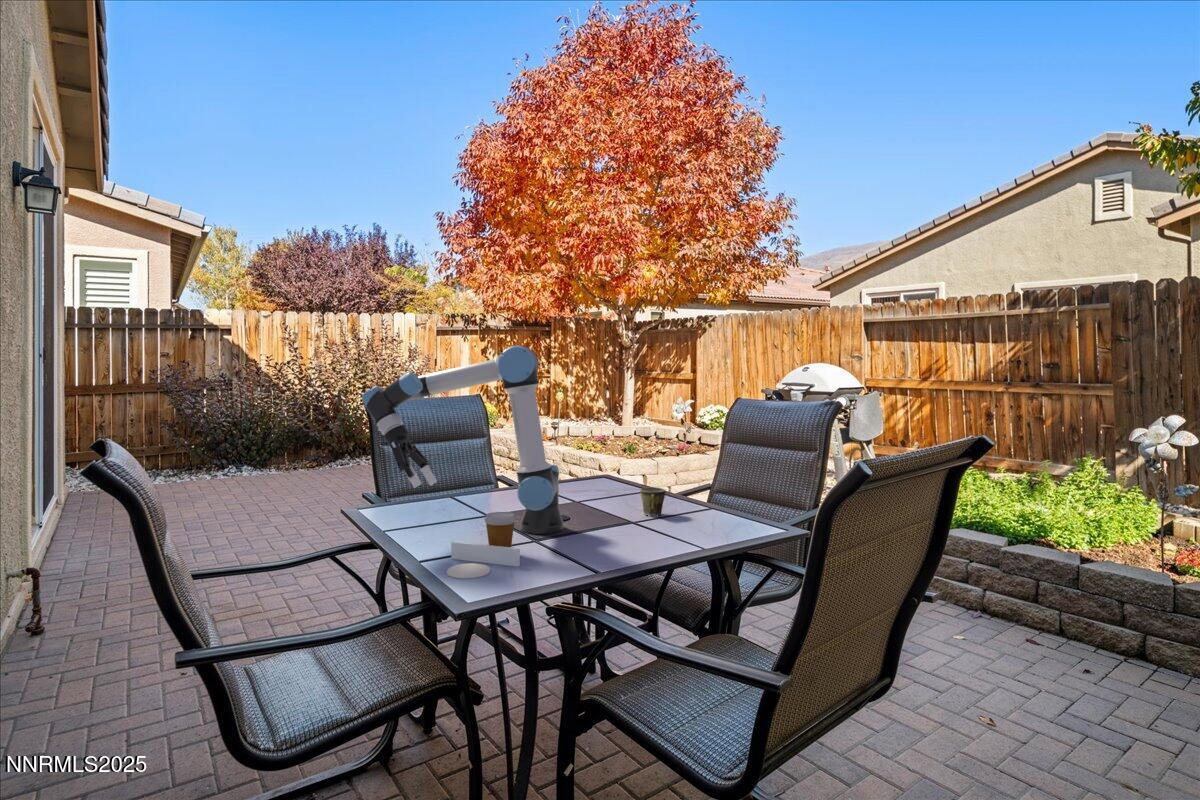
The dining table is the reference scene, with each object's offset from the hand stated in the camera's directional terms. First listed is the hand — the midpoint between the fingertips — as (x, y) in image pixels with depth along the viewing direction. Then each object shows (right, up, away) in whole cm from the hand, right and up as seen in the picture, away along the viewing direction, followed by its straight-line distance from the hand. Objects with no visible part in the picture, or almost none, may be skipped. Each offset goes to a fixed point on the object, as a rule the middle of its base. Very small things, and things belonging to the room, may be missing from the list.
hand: (426, 484), depth 213 cm
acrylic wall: (+23, -20, -21) cm, 37 cm away
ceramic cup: (+77, -17, +40) cm, 89 cm away
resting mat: (+20, -21, -30) cm, 41 cm away
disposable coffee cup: (+26, -20, -12) cm, 35 cm away
